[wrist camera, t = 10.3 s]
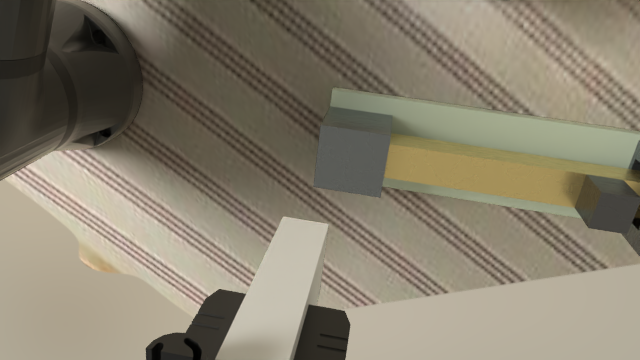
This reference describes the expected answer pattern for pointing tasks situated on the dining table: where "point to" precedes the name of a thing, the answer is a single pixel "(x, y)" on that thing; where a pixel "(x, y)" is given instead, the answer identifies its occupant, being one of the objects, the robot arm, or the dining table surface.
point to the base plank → (494, 138)
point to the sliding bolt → (521, 178)
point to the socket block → (636, 236)
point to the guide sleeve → (353, 151)
